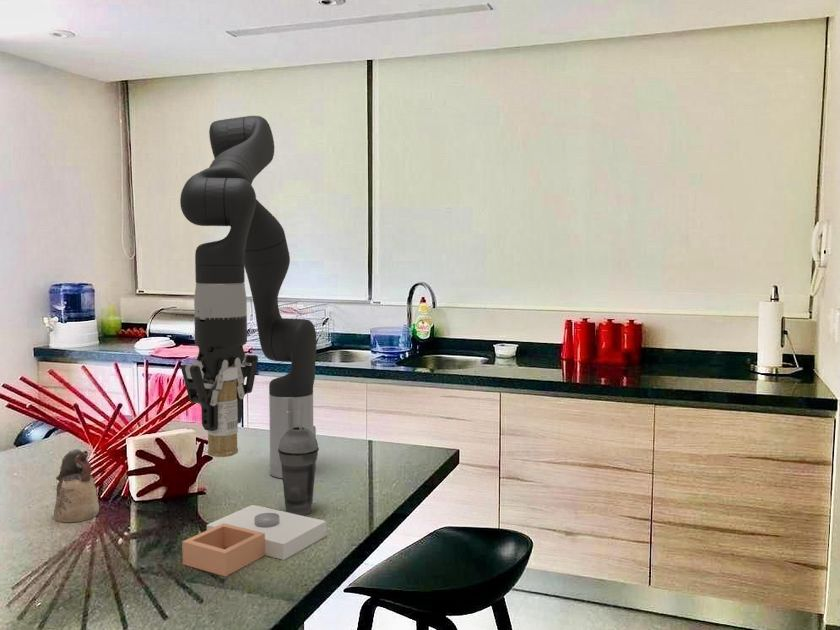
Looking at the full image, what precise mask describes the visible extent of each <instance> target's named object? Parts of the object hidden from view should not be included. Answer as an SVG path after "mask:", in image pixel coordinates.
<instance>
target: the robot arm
mask: <svg viewBox="0 0 840 630" xmlns="http://www.w3.org/2000/svg"><path fill="white" fill-rule="evenodd" d="M208 133H209V134H208V135H209V144H210V148H211V151H212V155H213V160H212V162H211V163H210V165H209V167H208V168H205V169H203V170H200V171H199V172H196V173H195V174H193V175H192V176H191V177H189V179H188V180H187V181H186V182H185V183H184V185H183V188H182V190H181V193H180V198H179V201H180V203H179V204H180V209H181V212H182V214H183V216H184V217H185V219H186V220H187V221H189V223H192V225H195V226H201V227H230V229H229V232H228V233H227V235H226V236H225V237H223V238H222V239H218V240H214V241H210V242H209V241H208V242H205V243H202V244H199V245H198V246H197V247H196V249H195V255H194V258H195V259H194V260H195V261H194V263H195V264H194V265H195V269H194V271H195V273H194V275H195V291H194V296H193V297H194V301H193V302H194V303H193V304H194V307H193V309H194V311H193V312H194V314H193V315H194V344H195V345H196V346H197V347H198V353H197V357H196V361H193V362H192V363H190V364H183V365H182V366H181V368H180V369H181V372H182V377H183V382H184V384H185V385H184V386H185V388H186V389H185V390H186V392H187V396H188V399H189V402H190V403H192V404H194V403H195V404H199V405H200V406H201V425H202V427H203V430H204V431H208V430H209V431H215V430H217V429H218V406H215V405H216V403H217V398H218V393H219V391H220V390H221V389H222V386H223V372H224V371H226V370H227V368H228V367H230V366H233V367H236V368H237V371H238V378H237V382H236V385H237V408H238V424H241V423H242V418H243V399H245V395H247V394H251V393H252V392H253V388H254V382H255V378H256V371H257V367H258V362H259V357H258V355H256V354H247V353H246V352H245V351H244V347H243V346H244V345H246V344H247V342H248V312H247V311H248V309H247V308H248V307H247V306H248V305H247V303H248V302H247V291H246V284H245V281H246V280H245V277H246V276H247V279H248V280H247V281H248V283H249V284H248V285H249V288H250V293H251V298H252V302H253V307H254V315H255V319H256V327H257V333H258V338H259V339H258V341H259V343H260V345H259V346H260V347H261V350H262V353H263V355H264V357H265V358H266V359H268V360H270V361H274V362H283V363H284V362H285V363H291V364H290V371H289V372H288V373H287V374H285V375H282V376H279V377H276V378H273V379H272V380H271V381H269V387H268V389H269V390H268V391H269V392H268V395H269V396H268V397H269V399H268V400H269V474H270V476H272V477H274V478H279V479H283V477H282V466H281V461H280V457H279V452H278V449H279V444H280V440H281V438H282V437H283V435H284V434H285V433H286V432H287V431H288V430H290V429H292V428H294V427H299V423H300V408H301V404H303V405H304V406H303V421H302V427H304V428H306V429H308V430H310V431H311V432H312V433H313V434H314V436H315V438H316V439H317V435H316V433H317V429H316V428H317V427H316V426H315V425H314V383H315V378H316V360H317V359H316V357H317V356H316V355H317V331H316V328H315V326H314V323H313V322H312V321H311V320H309V319H306V318H289V317H288V318H285V317H284V318H283V317H282V316H281V313H280V308H279V300H278V299H279V293H280V290H281V287H282V285H283V283H284V280H285V278H286V276H287V273H288V271H289V267H290V261H291V257H290V251H289V246H288V242H287V238H286V237H287V236H286V233H285V229H284V228H283V226H282V224H281V223H280V222H279V220H278V219H277V218H276V217H275V216H274V215H273V214H272V213H271V212H270V211H269V210H268V209H267V208H266V207H265V206H264V205H263V204H261V202H260V201H259V200H258V199H257V194H256V191H255V189H254V187H253V181H254V179H255V178H256V177H257V176H258V175H259V174H260V173H262V171H263V170H264V169H265V168H266V167H267V166H269V164H271V163H272V161H273V159H274V156H275V141H274V136H273V132H272V128H271V126H270V123H269V122H268V121H267V119H266V118H264V117H262V116H260V115H246V116H239V117H233V118H232V117H231V118H224V119H220V120H219V119H218V120H216V121H215V120H214V121H213V122H211V124H210V126H209V131H208ZM245 273H246V276H245ZM206 378H207V379H206ZM245 379H246V381H245ZM208 380H212V381H215V382H214V384H208V383H207V381H208ZM209 389H210V390H211V392H210V397H208V393H209ZM316 469H317V464H316V465H315V470H316Z"/></svg>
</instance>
